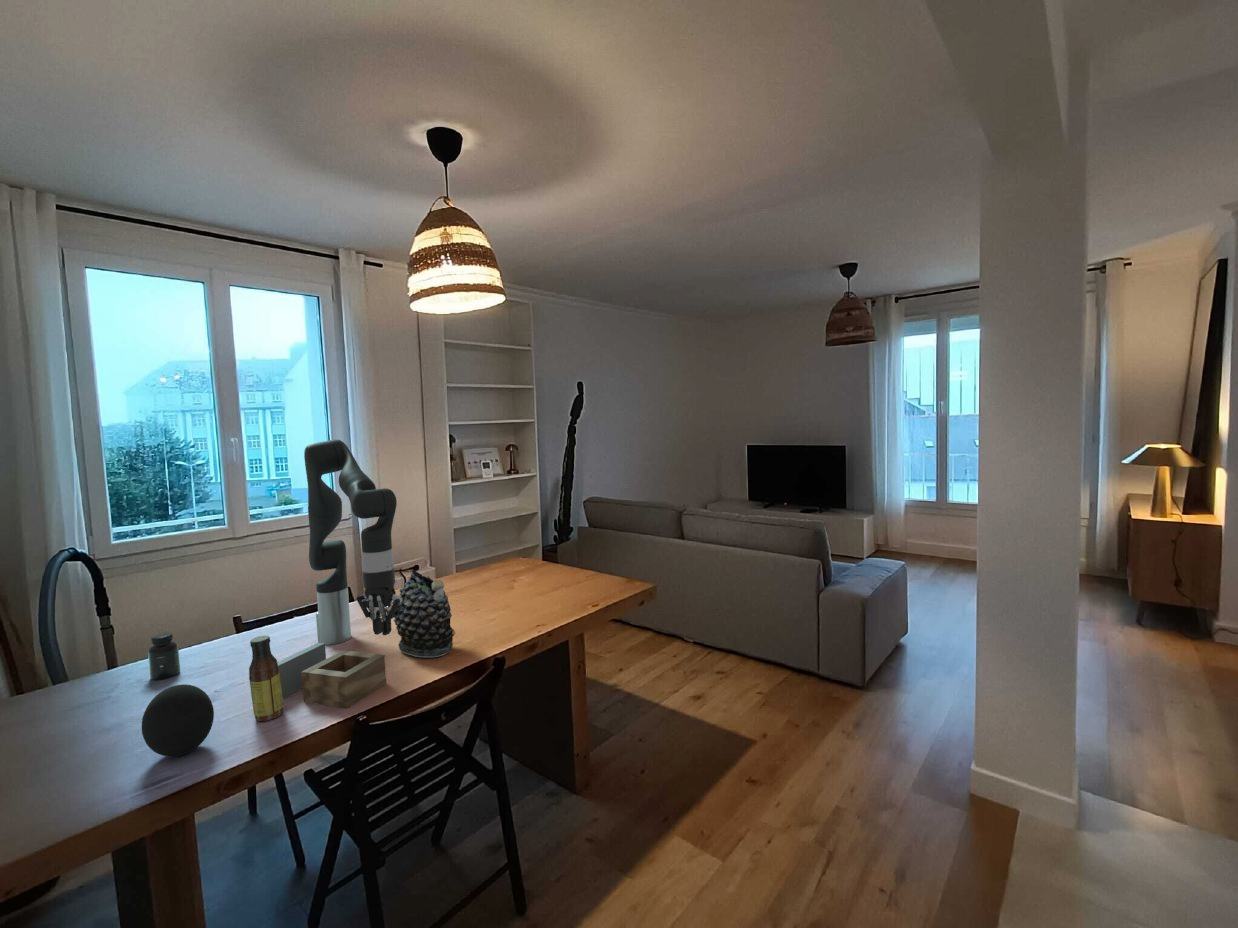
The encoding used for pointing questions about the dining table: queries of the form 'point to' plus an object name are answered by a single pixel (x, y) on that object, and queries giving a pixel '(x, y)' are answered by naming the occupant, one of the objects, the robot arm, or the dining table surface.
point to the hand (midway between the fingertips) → (382, 633)
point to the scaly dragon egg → (424, 618)
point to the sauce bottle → (265, 681)
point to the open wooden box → (343, 678)
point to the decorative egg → (177, 720)
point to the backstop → (299, 667)
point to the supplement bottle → (163, 657)
